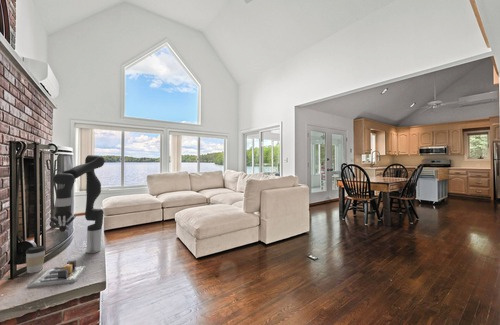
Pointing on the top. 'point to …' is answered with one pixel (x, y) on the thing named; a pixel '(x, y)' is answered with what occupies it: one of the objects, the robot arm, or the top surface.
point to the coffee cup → (35, 258)
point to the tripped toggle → (68, 267)
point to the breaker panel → (57, 276)
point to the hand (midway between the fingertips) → (63, 231)
